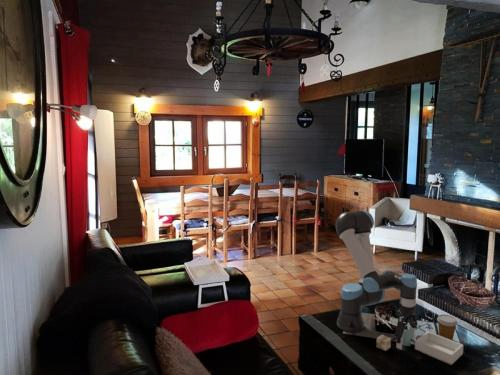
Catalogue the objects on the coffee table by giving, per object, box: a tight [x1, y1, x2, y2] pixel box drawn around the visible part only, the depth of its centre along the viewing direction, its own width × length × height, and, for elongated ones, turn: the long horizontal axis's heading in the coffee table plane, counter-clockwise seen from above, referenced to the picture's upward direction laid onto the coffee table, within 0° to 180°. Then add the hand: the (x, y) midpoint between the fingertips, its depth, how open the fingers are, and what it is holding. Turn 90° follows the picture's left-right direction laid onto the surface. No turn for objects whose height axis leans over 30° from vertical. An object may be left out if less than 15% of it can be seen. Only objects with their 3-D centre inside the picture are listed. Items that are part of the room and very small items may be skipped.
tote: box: [414, 330, 464, 366], centre depth 193 cm, size 18×14×5 cm
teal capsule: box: [402, 328, 412, 347], centre depth 200 cm, size 5×5×7 cm
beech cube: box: [375, 334, 392, 352], centre depth 197 cm, size 5×5×5 cm
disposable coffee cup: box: [436, 314, 458, 341], centre depth 203 cm, size 10×10×12 cm
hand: (405, 343), depth 200 cm, fingers open, 12 cm apart
